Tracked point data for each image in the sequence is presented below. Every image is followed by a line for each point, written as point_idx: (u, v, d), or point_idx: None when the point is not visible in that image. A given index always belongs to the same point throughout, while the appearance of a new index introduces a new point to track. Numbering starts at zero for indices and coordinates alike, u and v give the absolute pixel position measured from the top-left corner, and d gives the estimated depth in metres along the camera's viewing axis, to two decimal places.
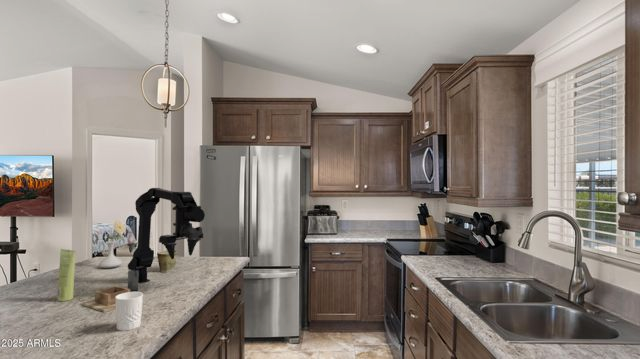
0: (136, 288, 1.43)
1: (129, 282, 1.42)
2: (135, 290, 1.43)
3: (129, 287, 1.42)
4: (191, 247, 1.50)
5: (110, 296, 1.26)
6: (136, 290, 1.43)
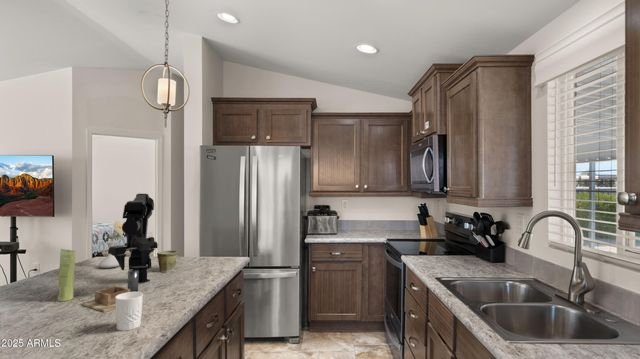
0: (136, 288, 1.43)
1: (129, 282, 1.42)
2: (135, 290, 1.43)
3: (129, 287, 1.42)
4: (144, 257, 1.48)
5: (110, 296, 1.26)
6: (136, 290, 1.43)
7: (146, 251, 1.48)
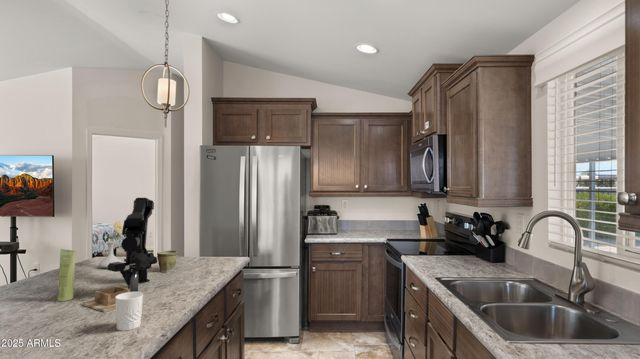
0: (136, 288, 1.43)
1: None
2: (135, 290, 1.43)
3: (129, 287, 1.42)
4: (139, 274, 1.46)
5: (110, 296, 1.26)
6: (136, 290, 1.43)
7: (140, 268, 1.46)
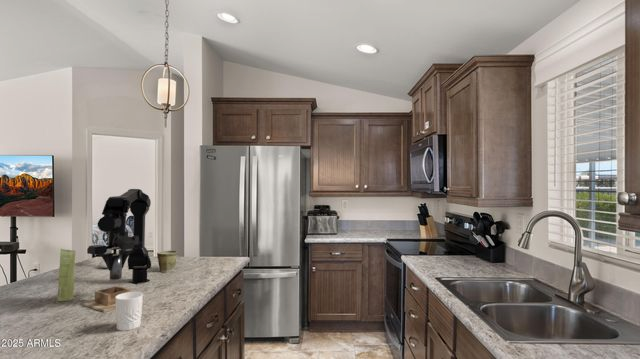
0: (119, 274, 1.31)
1: None
2: (118, 276, 1.31)
3: (111, 273, 1.30)
4: (122, 259, 1.34)
5: (110, 296, 1.26)
6: (119, 276, 1.31)
7: (124, 252, 1.34)
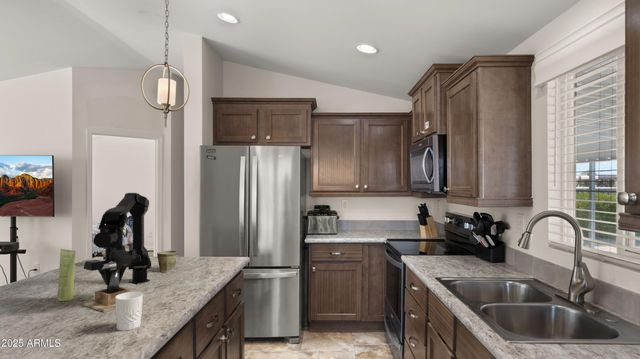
0: (116, 288, 1.30)
1: (109, 282, 1.29)
2: (115, 291, 1.30)
3: (109, 287, 1.29)
4: (120, 273, 1.33)
5: (110, 296, 1.26)
6: (116, 291, 1.30)
7: (121, 266, 1.33)
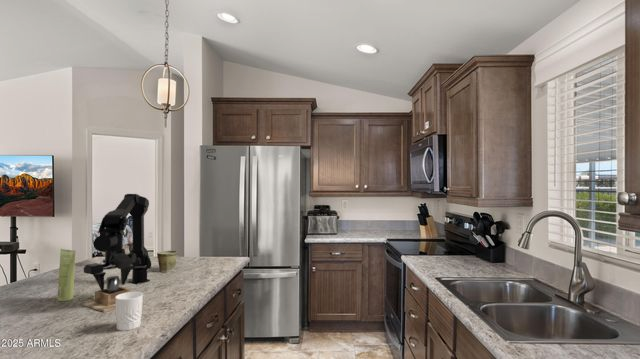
0: None
1: (108, 290, 1.29)
2: None
3: None
4: (124, 275, 1.34)
5: (110, 296, 1.26)
6: None
7: (126, 268, 1.34)
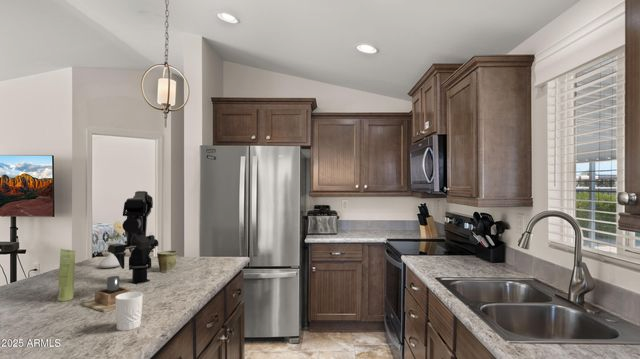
0: None
1: (108, 290, 1.29)
2: None
3: None
4: (145, 255, 1.46)
5: (110, 296, 1.26)
6: None
7: (146, 249, 1.46)
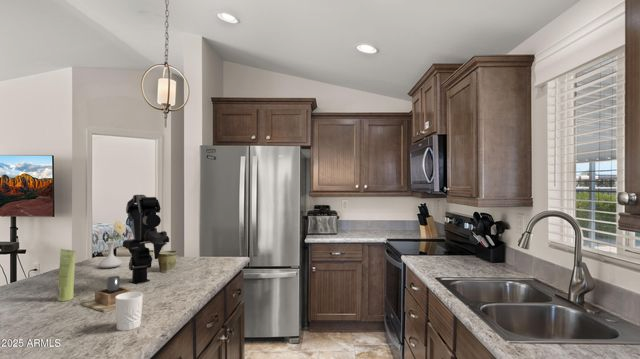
0: None
1: (108, 290, 1.29)
2: None
3: None
4: (157, 251, 1.53)
5: (110, 296, 1.26)
6: None
7: (158, 245, 1.54)
